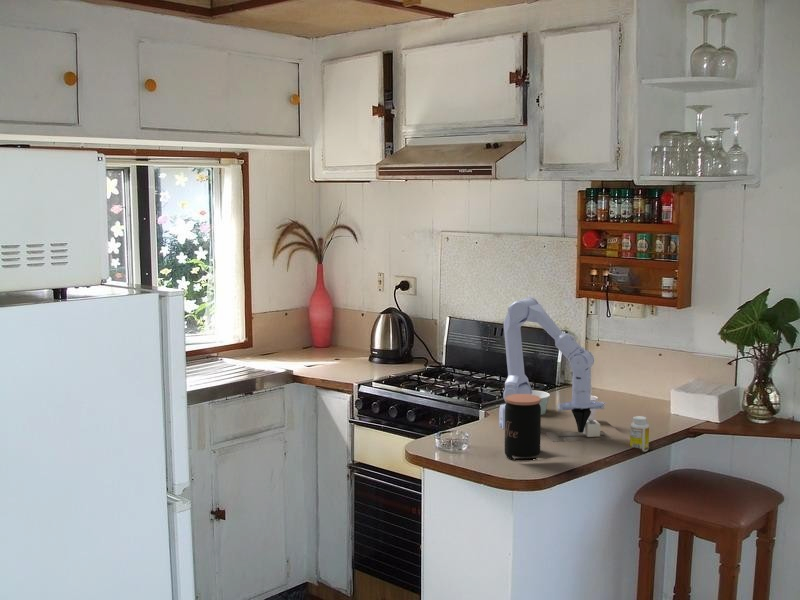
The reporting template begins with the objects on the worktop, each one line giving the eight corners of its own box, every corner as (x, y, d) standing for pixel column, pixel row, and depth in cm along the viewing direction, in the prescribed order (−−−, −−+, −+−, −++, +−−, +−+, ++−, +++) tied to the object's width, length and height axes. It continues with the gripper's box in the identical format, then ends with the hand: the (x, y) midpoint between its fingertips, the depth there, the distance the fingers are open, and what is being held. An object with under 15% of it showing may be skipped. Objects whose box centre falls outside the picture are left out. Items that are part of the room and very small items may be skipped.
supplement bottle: (644, 447, 284) (645, 414, 283) (651, 452, 278) (652, 419, 277) (627, 447, 283) (628, 415, 282) (633, 453, 278) (634, 420, 277)
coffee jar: (501, 451, 280) (502, 394, 278) (535, 450, 281) (536, 393, 278) (508, 462, 270) (508, 402, 267) (543, 461, 270) (544, 401, 268)
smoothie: (597, 428, 305) (598, 387, 303) (578, 427, 306) (579, 386, 304) (597, 423, 311) (598, 383, 309) (578, 422, 313) (579, 382, 311)
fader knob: (587, 436, 289) (587, 422, 288) (582, 432, 294) (583, 418, 293) (599, 436, 289) (600, 422, 288) (594, 431, 294) (595, 418, 293)
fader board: (553, 446, 285) (553, 441, 285) (544, 437, 295) (545, 432, 295) (612, 444, 287) (612, 439, 287) (602, 435, 297) (602, 430, 297)
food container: (547, 407, 333) (547, 390, 332) (552, 416, 321) (552, 398, 320) (514, 407, 333) (514, 390, 332) (517, 416, 321) (517, 398, 320)
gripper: (562, 393, 284) (561, 435, 286) (607, 391, 286) (606, 434, 288) (556, 388, 291) (555, 429, 293) (600, 386, 293) (599, 428, 295)
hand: (580, 431), depth 291 cm, fingers closed
